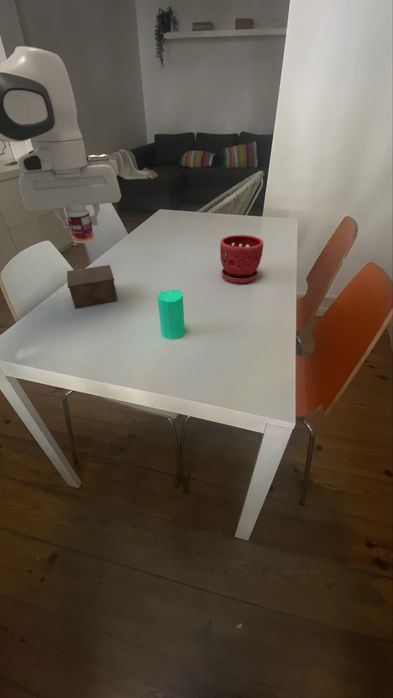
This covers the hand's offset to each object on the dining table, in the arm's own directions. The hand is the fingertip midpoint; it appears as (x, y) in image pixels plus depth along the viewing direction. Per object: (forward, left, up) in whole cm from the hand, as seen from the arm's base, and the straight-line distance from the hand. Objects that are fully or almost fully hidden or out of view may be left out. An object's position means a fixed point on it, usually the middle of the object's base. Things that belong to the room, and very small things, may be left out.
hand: (80, 226), depth 73 cm
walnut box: (-1, +11, -23) cm, 26 cm away
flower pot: (+45, +8, -24) cm, 51 cm away
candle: (+16, -15, -24) cm, 33 cm away
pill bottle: (0, 0, -3) cm, 3 cm away
